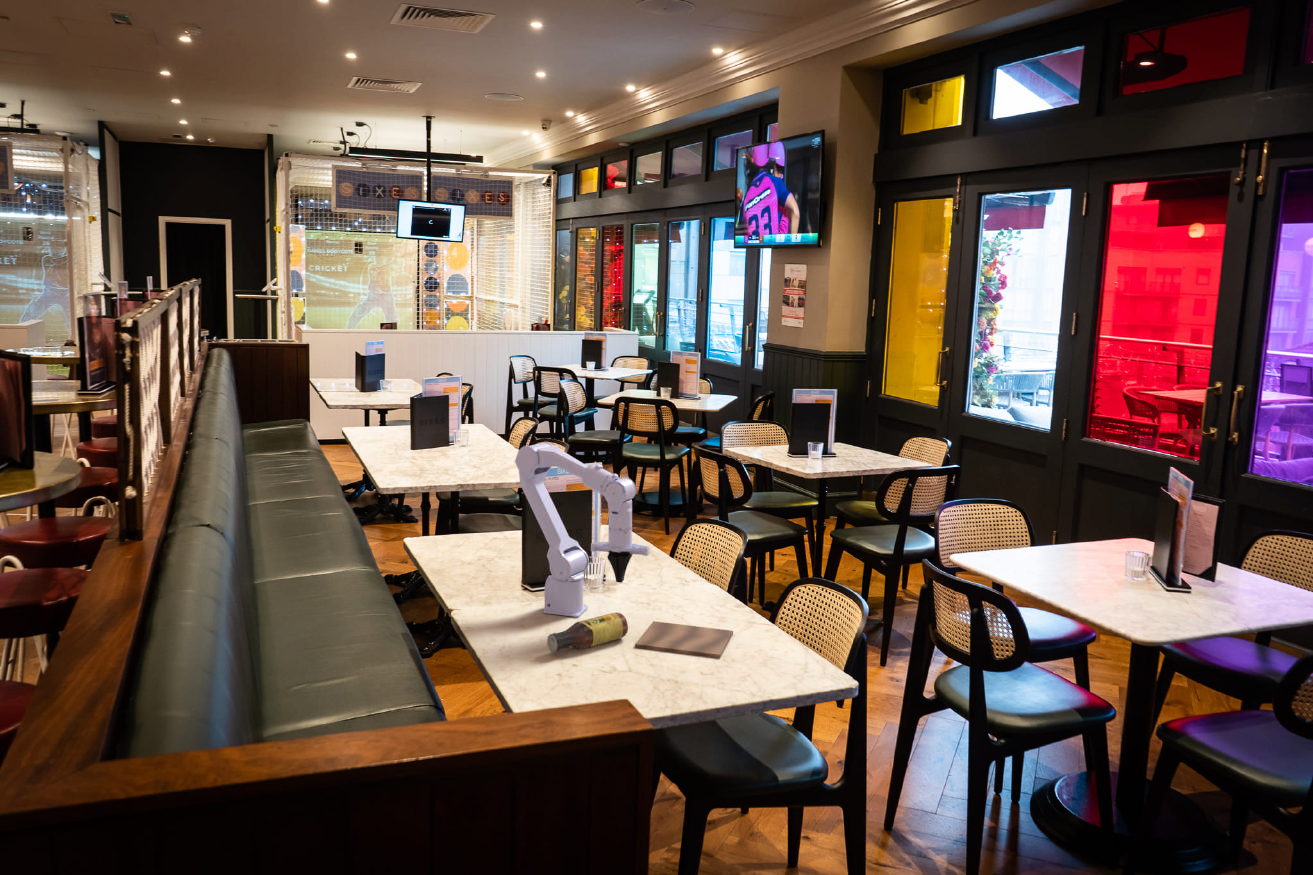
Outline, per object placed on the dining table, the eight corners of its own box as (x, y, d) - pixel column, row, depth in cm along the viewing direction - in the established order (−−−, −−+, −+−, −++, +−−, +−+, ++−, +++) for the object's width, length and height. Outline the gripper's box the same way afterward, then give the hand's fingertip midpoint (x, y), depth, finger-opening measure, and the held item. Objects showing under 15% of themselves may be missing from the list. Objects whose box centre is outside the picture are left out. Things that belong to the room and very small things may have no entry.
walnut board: (635, 647, 216) (635, 643, 216) (653, 624, 231) (653, 621, 231) (720, 658, 211) (720, 654, 211) (733, 633, 226) (733, 630, 226)
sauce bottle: (626, 609, 220) (558, 627, 207) (631, 636, 219) (564, 655, 206) (609, 612, 225) (542, 630, 212) (614, 638, 224) (547, 657, 211)
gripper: (586, 529, 227) (586, 583, 229) (644, 533, 223) (643, 588, 225) (596, 522, 234) (596, 575, 236) (652, 526, 230) (651, 580, 232)
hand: (619, 581), depth 231 cm, fingers closed
